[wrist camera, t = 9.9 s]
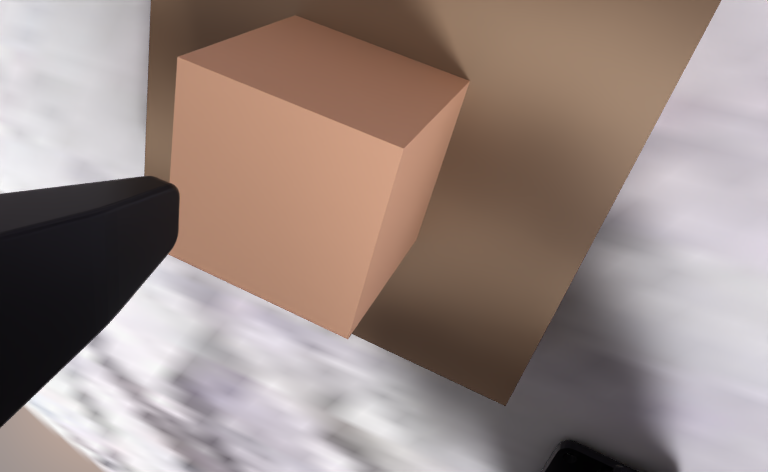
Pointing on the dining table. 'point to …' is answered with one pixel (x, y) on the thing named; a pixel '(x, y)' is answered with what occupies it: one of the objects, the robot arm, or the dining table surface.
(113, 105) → the dining table surface
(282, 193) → the terracotta block
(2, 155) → the dining table surface
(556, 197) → the walnut base
